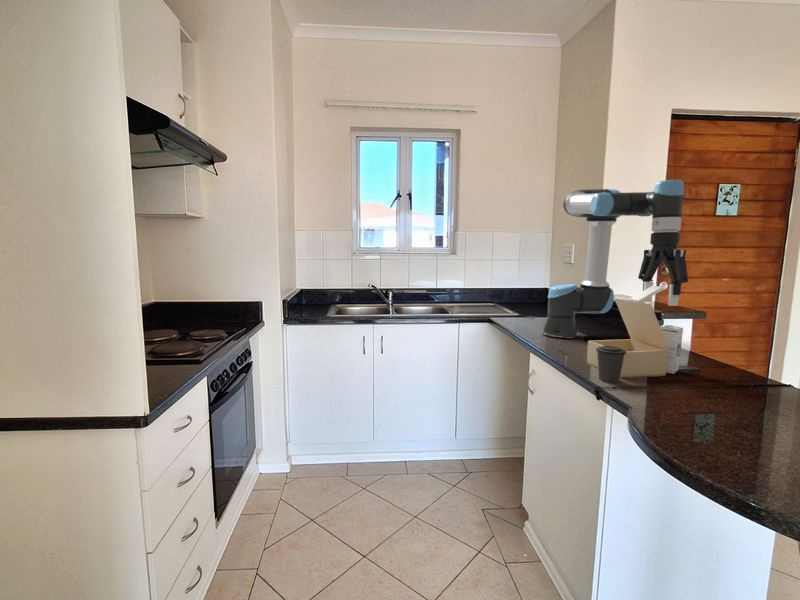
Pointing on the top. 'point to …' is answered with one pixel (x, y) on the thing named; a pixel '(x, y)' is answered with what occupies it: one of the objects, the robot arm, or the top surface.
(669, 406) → the top surface
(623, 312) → the lid flap
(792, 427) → the top surface
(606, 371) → the coffee cup
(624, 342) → the carton
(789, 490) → the top surface
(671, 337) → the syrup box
